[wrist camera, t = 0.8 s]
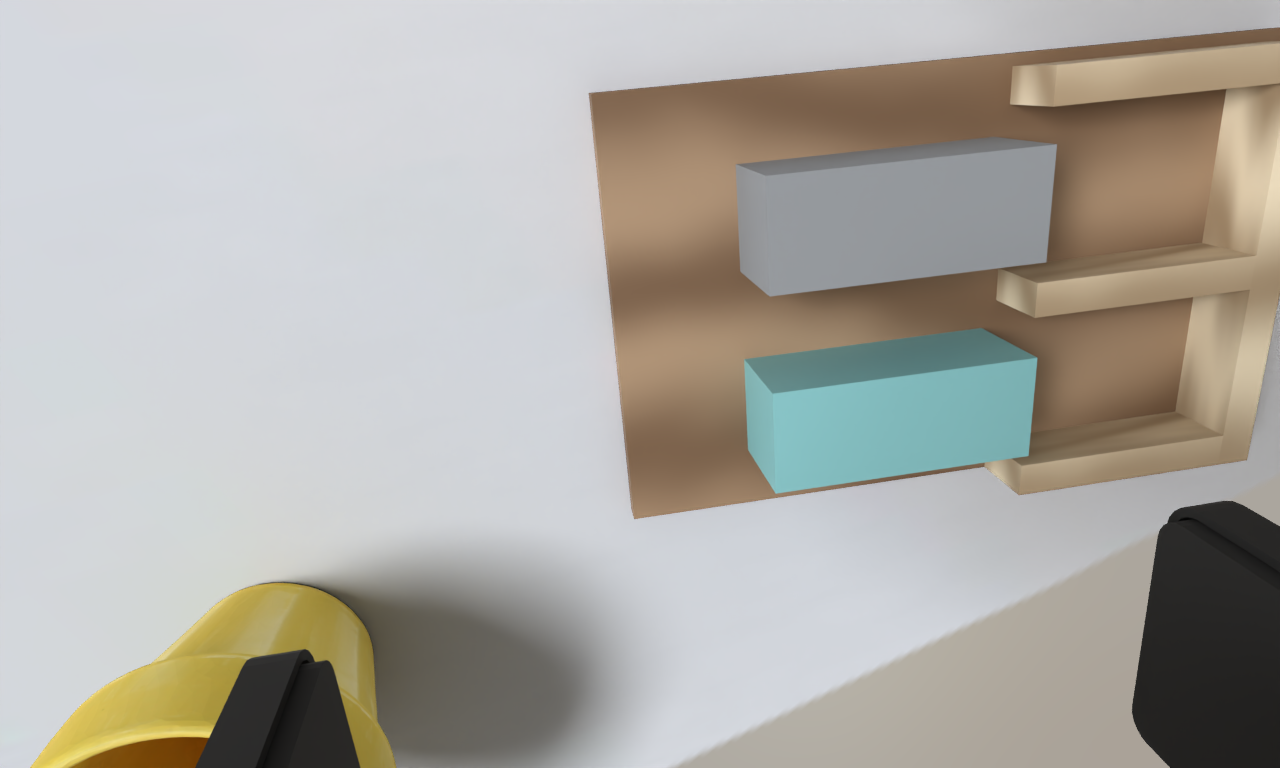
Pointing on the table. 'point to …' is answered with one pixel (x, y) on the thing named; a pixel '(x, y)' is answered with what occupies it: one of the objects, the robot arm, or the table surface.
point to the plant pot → (221, 683)
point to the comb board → (989, 299)
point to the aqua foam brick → (888, 408)
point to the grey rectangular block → (894, 213)
